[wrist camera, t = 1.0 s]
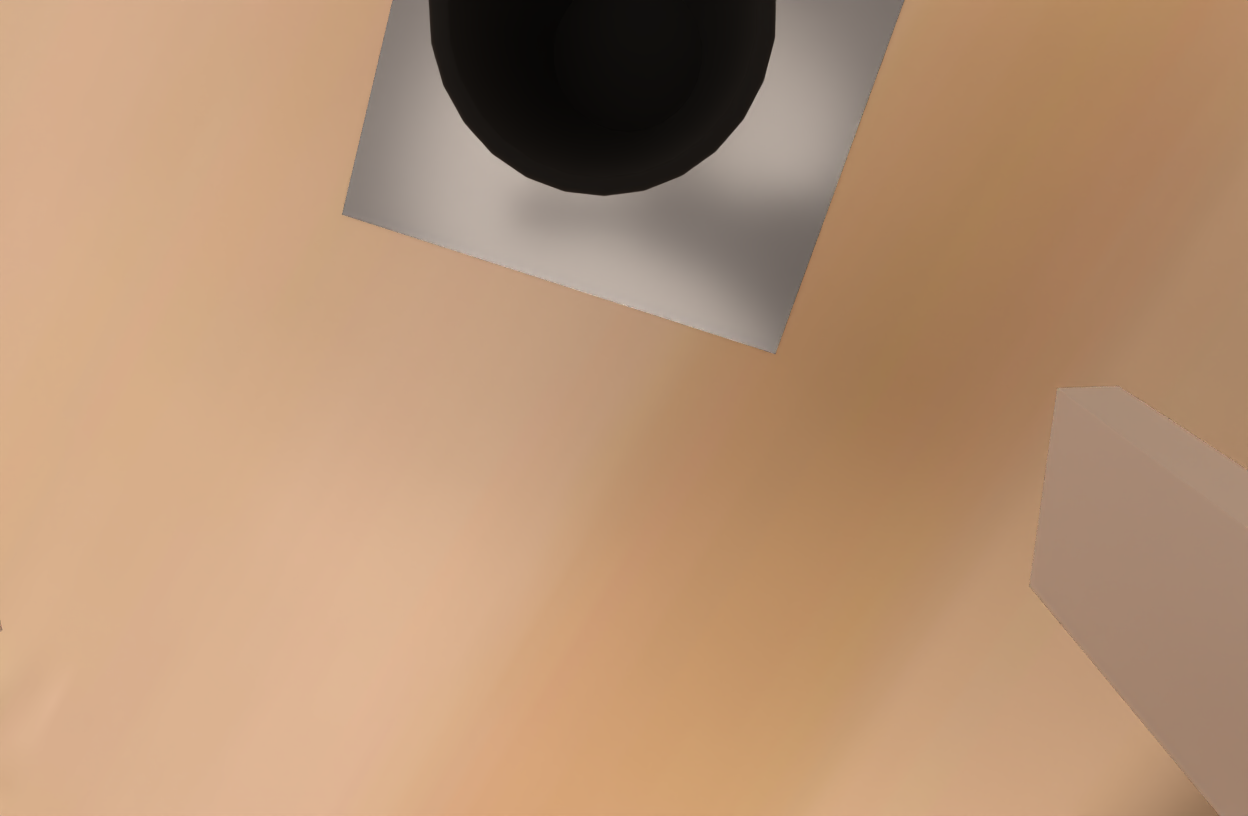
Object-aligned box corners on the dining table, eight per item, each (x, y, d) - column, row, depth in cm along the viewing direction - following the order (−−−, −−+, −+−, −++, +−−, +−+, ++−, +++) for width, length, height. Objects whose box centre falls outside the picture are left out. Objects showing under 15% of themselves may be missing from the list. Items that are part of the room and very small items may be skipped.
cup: (784, 105, 34) (835, 92, 23) (584, 214, 36) (536, 255, 24) (676, -117, 33) (673, -253, 21) (471, 6, 34) (362, -58, 22)
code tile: (940, -114, 33) (948, -121, 32) (772, 348, 37) (775, 354, 36) (466, -274, 33) (459, -287, 32) (350, 212, 37) (341, 214, 36)
